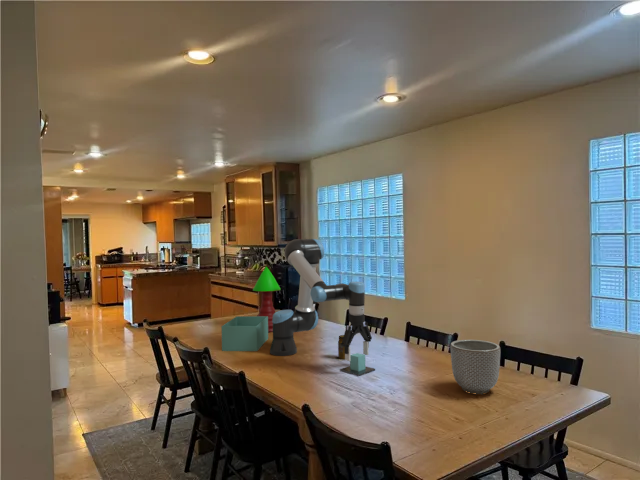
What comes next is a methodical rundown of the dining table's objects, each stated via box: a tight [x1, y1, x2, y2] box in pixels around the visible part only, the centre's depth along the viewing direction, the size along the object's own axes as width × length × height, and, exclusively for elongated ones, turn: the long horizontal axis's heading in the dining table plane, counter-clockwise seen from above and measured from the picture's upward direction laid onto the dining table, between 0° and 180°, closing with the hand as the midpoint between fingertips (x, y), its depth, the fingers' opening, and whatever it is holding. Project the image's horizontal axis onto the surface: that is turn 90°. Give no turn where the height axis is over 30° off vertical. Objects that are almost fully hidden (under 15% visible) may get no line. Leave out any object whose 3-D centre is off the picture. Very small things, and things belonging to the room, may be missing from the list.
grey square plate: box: [339, 365, 376, 377], centre depth 215 cm, size 12×12×6 cm
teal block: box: [349, 352, 366, 371], centre depth 215 cm, size 5×5×7 cm
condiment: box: [332, 334, 346, 362], centre depth 237 cm, size 7×8×12 cm
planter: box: [449, 339, 501, 395], centre depth 185 cm, size 20×20×19 cm
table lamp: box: [252, 266, 281, 333], centre depth 314 cm, size 20×20×45 cm
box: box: [220, 315, 269, 352], centre depth 272 cm, size 21×32×14 cm, turn 175°
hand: (357, 357), depth 215 cm, fingers open, 13 cm apart
